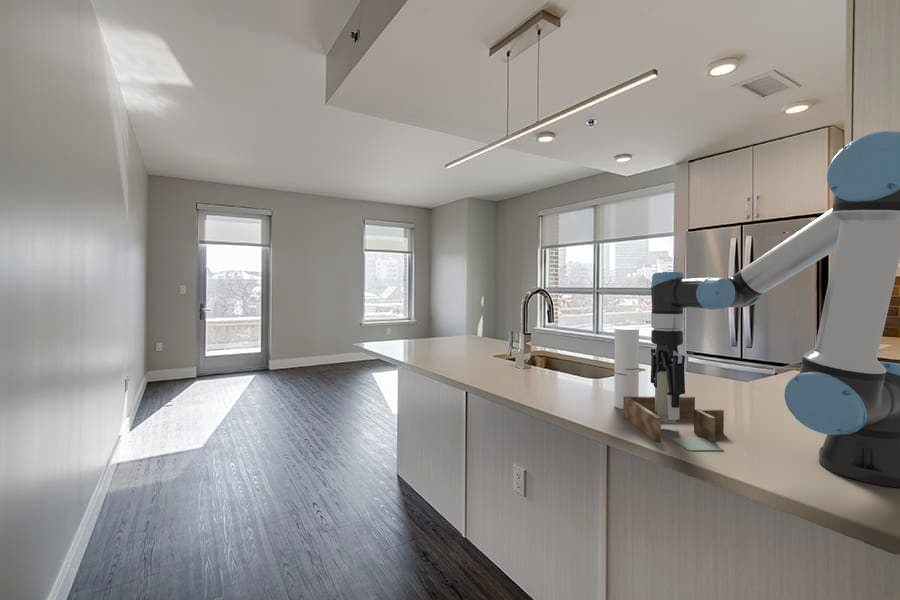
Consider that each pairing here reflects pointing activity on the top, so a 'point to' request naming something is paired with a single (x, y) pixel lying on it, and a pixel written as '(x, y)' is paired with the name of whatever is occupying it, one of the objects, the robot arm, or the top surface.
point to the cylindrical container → (626, 365)
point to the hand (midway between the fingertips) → (666, 414)
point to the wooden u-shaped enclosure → (705, 420)
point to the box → (663, 397)
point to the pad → (696, 444)
